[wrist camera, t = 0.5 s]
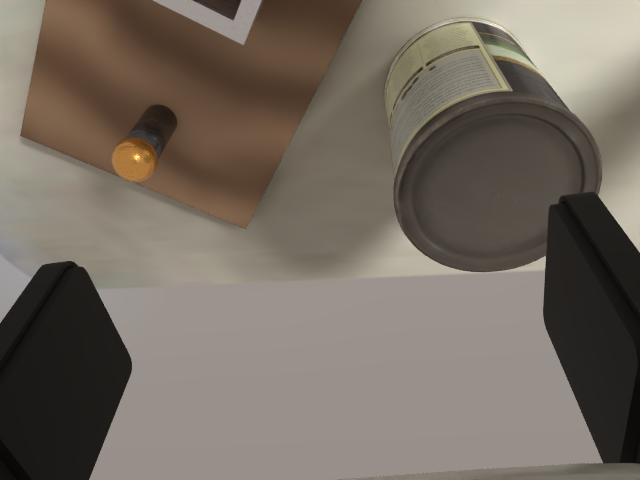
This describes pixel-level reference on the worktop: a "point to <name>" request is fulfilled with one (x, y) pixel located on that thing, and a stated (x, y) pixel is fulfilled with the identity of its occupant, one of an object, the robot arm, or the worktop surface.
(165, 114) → the post
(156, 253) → the worktop surface
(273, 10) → the board
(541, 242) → the coffee can
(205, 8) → the white hollow square box
